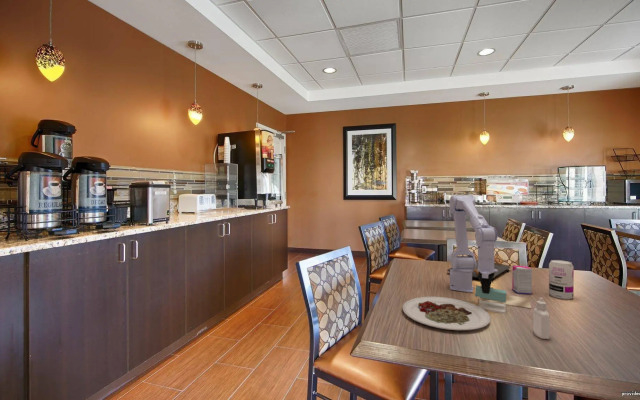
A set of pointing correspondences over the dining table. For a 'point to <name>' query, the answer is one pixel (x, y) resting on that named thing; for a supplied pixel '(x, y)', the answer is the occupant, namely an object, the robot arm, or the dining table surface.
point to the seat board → (512, 301)
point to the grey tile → (492, 306)
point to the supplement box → (522, 280)
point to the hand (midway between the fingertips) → (486, 291)
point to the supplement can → (561, 279)
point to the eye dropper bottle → (541, 320)
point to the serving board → (497, 265)
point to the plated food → (446, 313)
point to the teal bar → (491, 294)
